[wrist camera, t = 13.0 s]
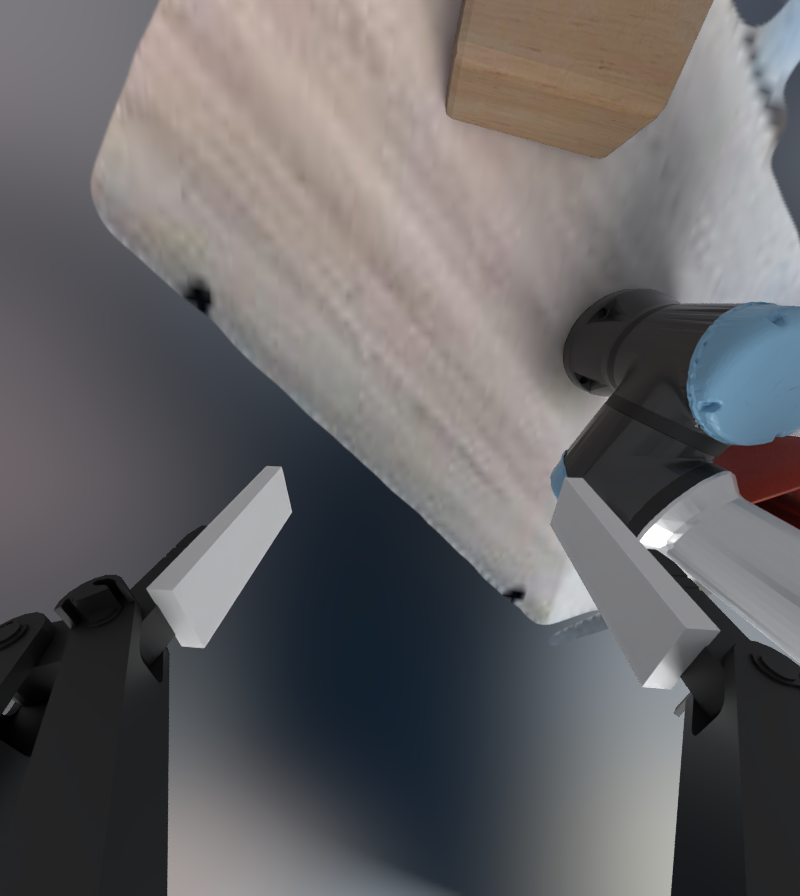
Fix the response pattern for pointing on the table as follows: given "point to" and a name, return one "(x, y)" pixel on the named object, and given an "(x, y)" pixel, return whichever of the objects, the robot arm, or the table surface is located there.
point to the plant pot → (768, 475)
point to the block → (570, 67)
